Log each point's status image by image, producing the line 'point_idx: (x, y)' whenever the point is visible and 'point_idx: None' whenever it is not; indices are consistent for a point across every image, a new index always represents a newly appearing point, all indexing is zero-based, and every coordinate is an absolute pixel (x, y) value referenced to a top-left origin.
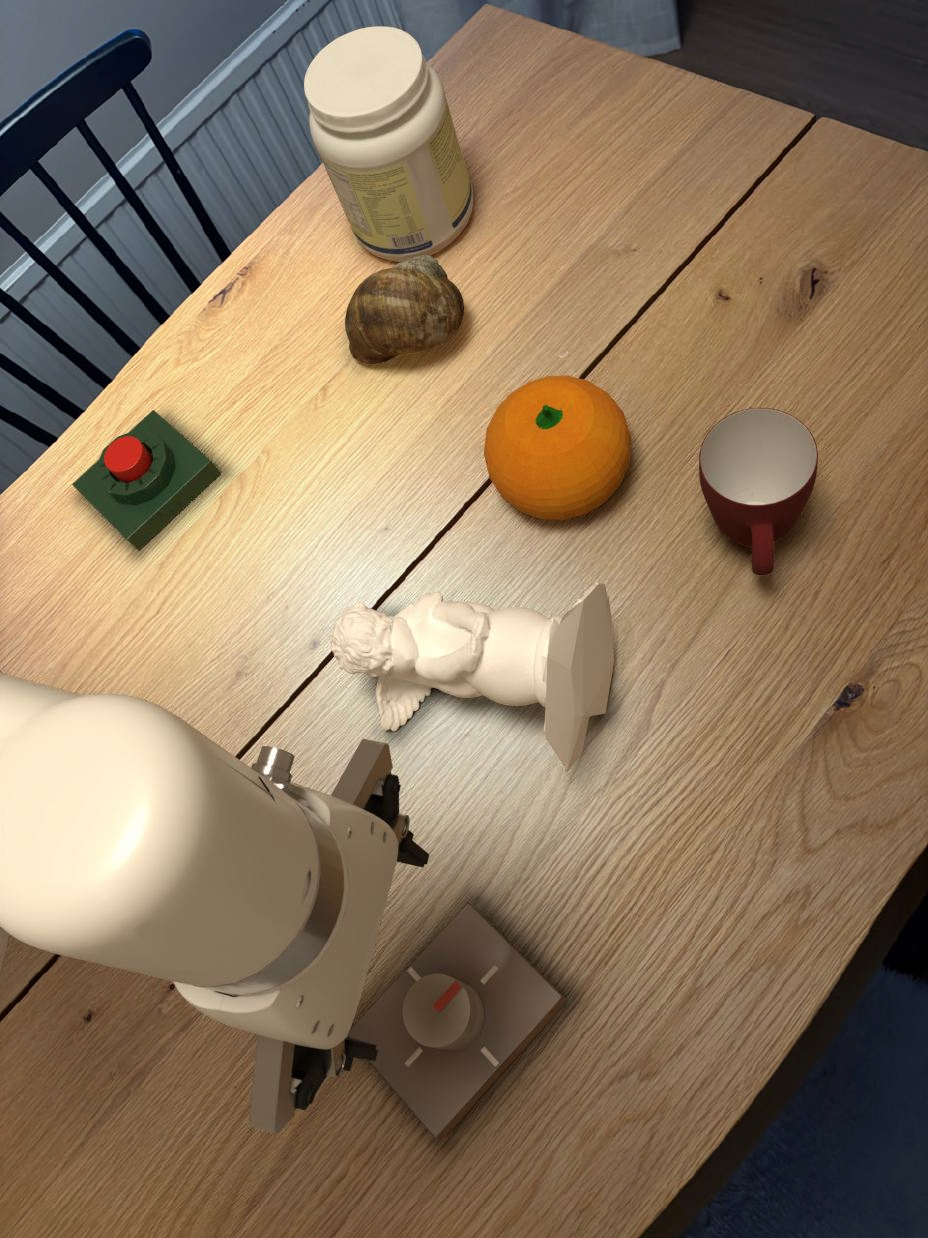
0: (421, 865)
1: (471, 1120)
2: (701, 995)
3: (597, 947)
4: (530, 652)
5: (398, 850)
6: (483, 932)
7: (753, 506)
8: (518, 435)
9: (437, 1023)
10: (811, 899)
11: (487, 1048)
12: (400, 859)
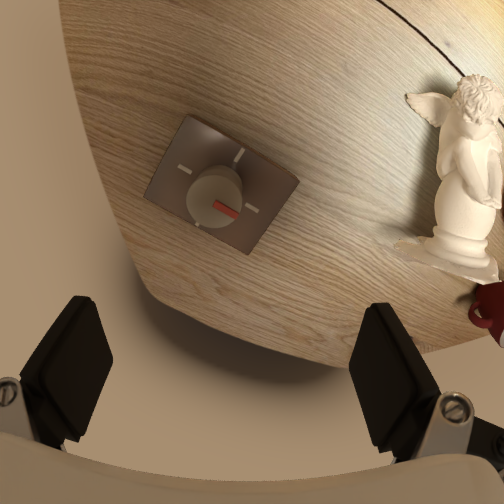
0: (352, 379)
1: None
2: (266, 308)
3: (282, 255)
4: (474, 236)
5: (379, 444)
6: (280, 197)
7: (502, 331)
8: None
9: (204, 205)
10: (319, 342)
11: None
12: (363, 370)
